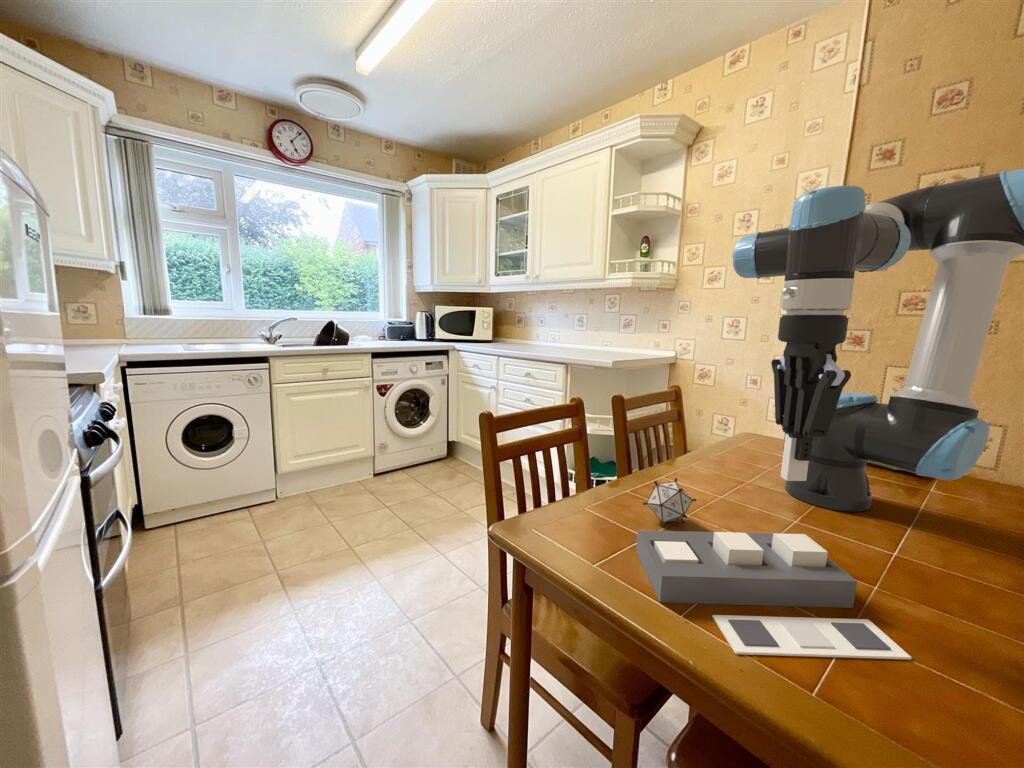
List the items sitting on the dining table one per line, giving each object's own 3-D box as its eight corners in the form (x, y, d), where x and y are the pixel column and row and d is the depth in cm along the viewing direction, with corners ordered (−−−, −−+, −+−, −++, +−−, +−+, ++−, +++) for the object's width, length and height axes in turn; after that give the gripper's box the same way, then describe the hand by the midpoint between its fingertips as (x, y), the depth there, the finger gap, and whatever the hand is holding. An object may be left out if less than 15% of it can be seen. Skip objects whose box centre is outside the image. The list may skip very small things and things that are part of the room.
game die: (676, 543, 78) (704, 519, 71) (633, 523, 79) (656, 498, 72) (679, 504, 85) (705, 479, 78) (640, 487, 86) (662, 460, 79)
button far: (683, 559, 65) (685, 541, 64) (696, 579, 60) (698, 560, 59) (653, 558, 65) (654, 541, 64) (663, 578, 60) (664, 559, 59)
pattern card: (868, 621, 54) (868, 618, 54) (911, 659, 48) (911, 655, 48) (712, 616, 54) (712, 613, 54) (735, 654, 48) (736, 650, 48)
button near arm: (802, 552, 64) (804, 534, 63) (824, 571, 59) (827, 551, 59) (770, 551, 64) (773, 533, 64) (790, 570, 59) (793, 551, 59)
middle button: (743, 550, 64) (745, 532, 64) (761, 569, 59) (763, 550, 59) (712, 549, 64) (714, 531, 64) (727, 568, 59) (729, 549, 59)
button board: (795, 556, 68) (798, 534, 67) (852, 607, 56) (857, 581, 55) (635, 552, 68) (637, 530, 68) (659, 602, 57) (662, 575, 56)
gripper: (758, 312, 62) (743, 462, 66) (818, 313, 49) (795, 498, 54) (809, 312, 62) (791, 462, 66) (883, 313, 49) (854, 499, 53)
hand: (793, 478), depth 60 cm, fingers closed
